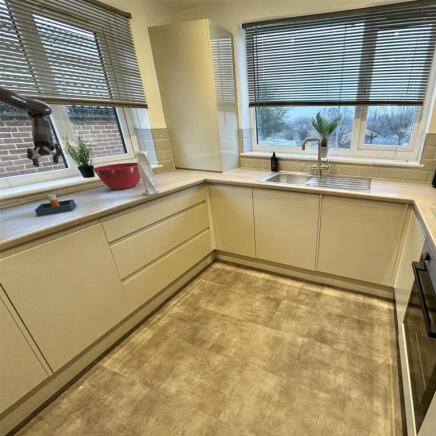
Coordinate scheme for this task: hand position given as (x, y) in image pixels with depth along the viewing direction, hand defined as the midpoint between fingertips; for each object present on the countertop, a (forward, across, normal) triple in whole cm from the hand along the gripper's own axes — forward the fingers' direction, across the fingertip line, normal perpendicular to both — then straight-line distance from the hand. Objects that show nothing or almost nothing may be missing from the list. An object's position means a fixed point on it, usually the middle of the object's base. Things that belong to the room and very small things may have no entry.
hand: (46, 164), depth 125 cm
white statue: (+18, +39, +24) cm, 49 cm away
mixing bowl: (0, +17, +44) cm, 47 cm away
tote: (+25, 0, +4) cm, 26 cm away
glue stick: (+24, 0, +4) cm, 25 cm away
